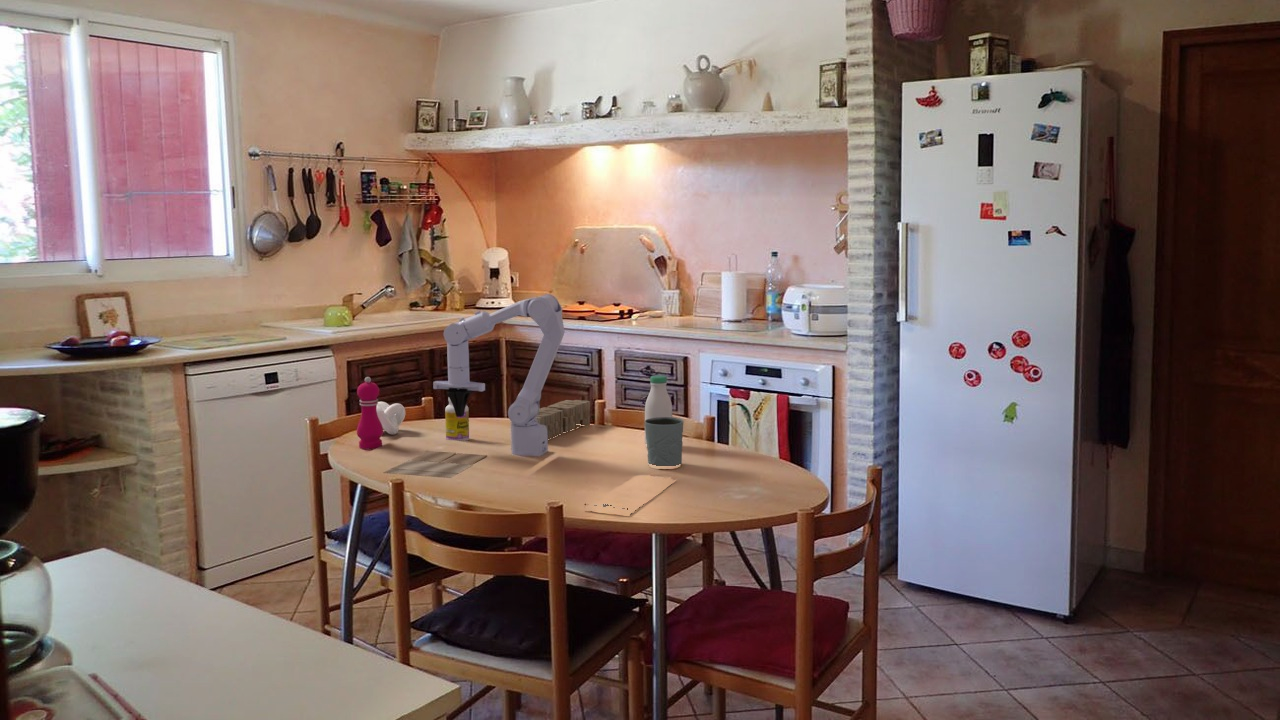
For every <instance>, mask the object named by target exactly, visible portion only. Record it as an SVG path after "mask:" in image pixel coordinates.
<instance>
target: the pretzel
mask: <svg viewBox="0 0 1280 720" xmlns="http://www.w3.org/2000/svg"><path fill="white" fill-rule="evenodd" d="M376 410H377V415H378V418H379V420H380V422H381V424H382V427H383V431H385V432H386V433H387V434H389V435H392V436H394V435H397V434H398V432H399V426H401V424H402V423H403V422H404V420H405V416H406V408H405V407H404V406H403V404H401V403H392V404H389V403H387V402H385V401H378V404H377V407H376Z"/></svg>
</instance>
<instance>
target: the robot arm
mask: <svg viewBox="0 0 1280 720" xmlns="http://www.w3.org/2000/svg"><path fill="white" fill-rule="evenodd" d="M562 314H563V307H562V305H561V304H560V302H559V300H558V299H557V298H556V296H554V295H552V294H549V293H548V294H547V293H546V294H542V295H541V296H536V297H530V298H526V299H522V300H519V301H516V302H514V303H512V304H510V305H508V306H505V307H502V308H501V309H498V310H496V311H494V312H492V313H490V312H487V311H486V310H485V311H484V310H483V311H481V310H477V311H474V314H473V315H471V316H468V317H465V318H464V317H461V318H459V319H458V321H456V322H451V323H450V324H449V325H446V327H445V328H444V330H443V338H444V341H445V342H446V347H447V350H446V353H447V379H448V380H435V381H433V383H432V385H433V387H432V388H433V390H438V389H439V390H448V391H447V392H446V396H447V397H449V398H450V400H451V402H452V404H453V407H454V410H455V413H456V417H461V416H464V411H465V407H466V405H467V403H468V401H469V398H470V396H471V394H472V391H473V392H474V391H475V392H484V391H486V383H484V382H476V381H470V349H469V340H473V339H476V338H477V337H480V336H482V335H486V334H488V333H491V332H492V331H493V330H494V328H495V325H496V324H499V323H502V322H505V321H507V320H510V319H512V318H513V319H514V318H515V317H518V316H521V317H524V318H529V317H530V318H531V319H532V320H533V321H534V323H536V324H537V326H538V327H539V328H540V330H541V332H542V335H543V337H542V339H541V340H540V344H539V346H538V348H537V351H536V353H535V357H534V359H533V361H532V364H531V366H530V369H529V371H528V374H527V376H526V379H525V381H524V384H523V386H522V389H521V390H520V391H519V393H518V395H517V396H516V399H515V401H514V402H513V403H512V404H510V406H509V407H508V410H507V416H508V419H509V420H510V441H511V442H510V444H511V445H510V446H511V448H510V450H511V455H514V456H524V457H525V456H526V457H527V456H528V457H529V456H530V457H541V456H543V455H544V454H545V453H548V452H549V449H548V447H549V440H548V435H547V428H546V426H545V425H540V424H538V421H537V418H536V416H537V414H538V413H539V409H540V407H541V406H540V402H541V401H540V400H541V399H542V391H543V388H544V385H545V383H546V380H547V379H548V376H549V373H550V371H551V368H552V365H553V363H554V360H555V358H556V356H557V353H558V351H559V348H560V345H561V343H562V340H563V338H564V335H565V327H564V326H565V325H564V321H563V320H564V319H563V315H562Z"/></svg>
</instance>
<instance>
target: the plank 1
mask: <svg viewBox="0 0 1280 720" xmlns="http://www.w3.org/2000/svg"><path fill="white" fill-rule="evenodd" d="M455 454H457V452H450V451H449V452H447V451H438V450H437V451H436V450H427V451H425V452H423V453H422V454H420V455H417V456H416V457H414V458H412V459H411V460H413V461H427V462H440V463H442V462H444V461H445V460H447V459H449V458H450V457H452V456H454V455H455Z"/></svg>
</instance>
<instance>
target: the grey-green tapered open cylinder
mask: <svg viewBox="0 0 1280 720" xmlns="http://www.w3.org/2000/svg"><path fill="white" fill-rule="evenodd" d="M683 431H684V420H683V418H680V417H679V418H678V417H675V416H672V417H657V418H650V419H647V420H645V419H644V433H645V432H646V440H647V447H646V450H647V463H649V464H652V465H656V466H676V465H679V464H681V465H682V461H683V453H682V452H683V437H684V436H683V434H684V433H683Z"/></svg>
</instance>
